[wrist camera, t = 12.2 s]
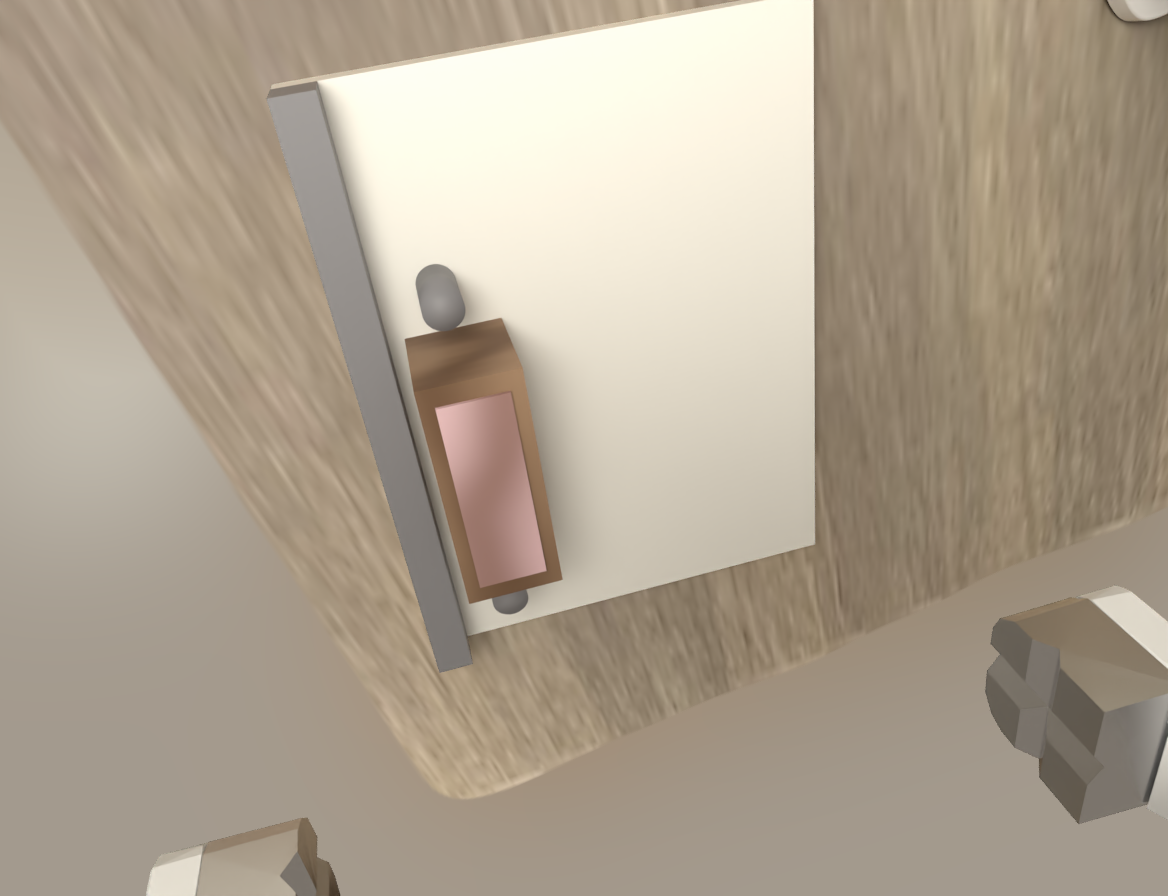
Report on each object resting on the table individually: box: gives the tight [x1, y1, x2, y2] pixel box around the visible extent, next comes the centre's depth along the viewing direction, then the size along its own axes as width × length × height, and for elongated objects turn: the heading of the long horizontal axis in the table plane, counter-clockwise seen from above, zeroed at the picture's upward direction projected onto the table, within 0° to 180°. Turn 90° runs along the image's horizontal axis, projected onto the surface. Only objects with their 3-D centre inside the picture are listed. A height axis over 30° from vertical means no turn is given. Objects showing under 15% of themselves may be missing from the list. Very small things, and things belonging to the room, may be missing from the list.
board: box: [267, 0, 815, 673], centre depth 39 cm, size 20×26×4 cm
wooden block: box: [405, 318, 563, 604], centre depth 37 cm, size 4×10×5 cm, turn 8°
